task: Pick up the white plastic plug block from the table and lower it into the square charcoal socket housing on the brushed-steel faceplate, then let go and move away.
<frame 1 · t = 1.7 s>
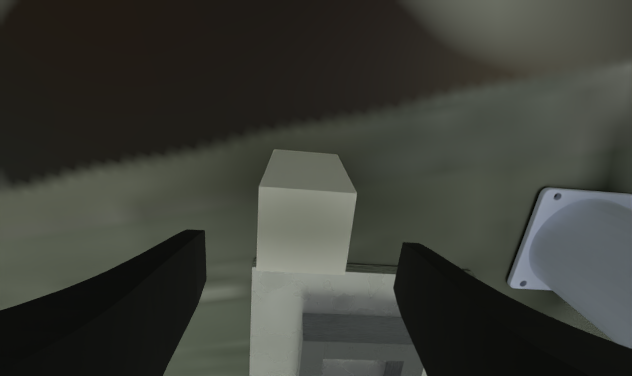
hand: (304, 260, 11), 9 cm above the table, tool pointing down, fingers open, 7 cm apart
socket: (350, 347, 24), on the table
plug: (303, 181, 19), on the table
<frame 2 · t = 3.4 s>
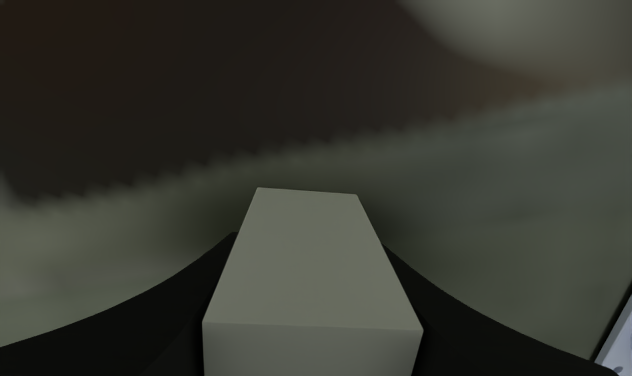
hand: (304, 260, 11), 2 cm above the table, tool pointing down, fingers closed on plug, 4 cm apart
plug: (303, 234, 13), on the table, touching gripper
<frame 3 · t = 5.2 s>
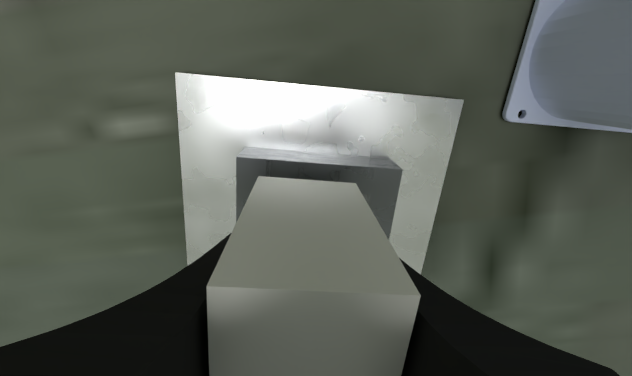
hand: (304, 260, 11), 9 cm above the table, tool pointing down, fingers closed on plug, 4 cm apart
socket: (311, 211, 20), on the table
plug: (303, 223, 13), point 7 cm above the table, touching gripper
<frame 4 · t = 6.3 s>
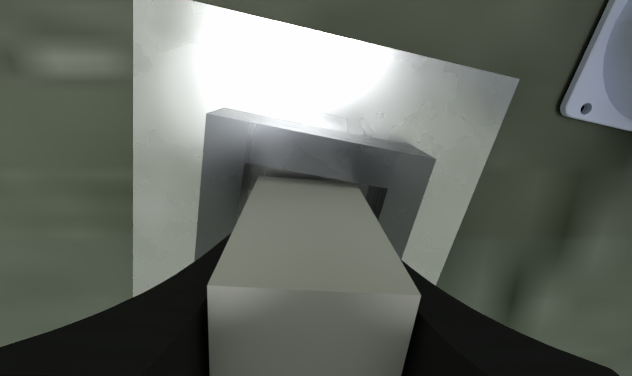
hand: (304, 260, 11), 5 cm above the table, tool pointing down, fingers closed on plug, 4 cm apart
socket: (303, 205, 15), on the table
plug: (304, 223, 13), point 3 cm above the table, touching gripper
when the fingers open (4 cm above the table, at t = 7.3 s): plug drops 1 cm, resting on socket.
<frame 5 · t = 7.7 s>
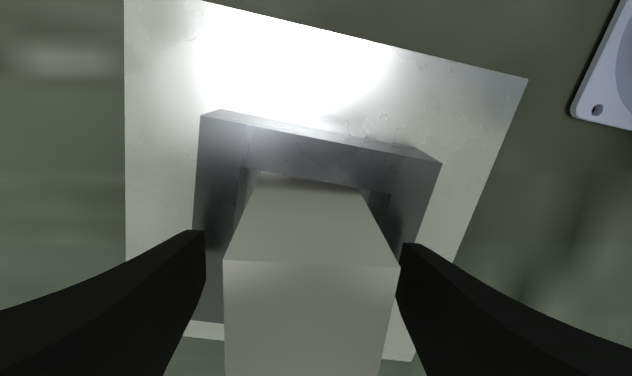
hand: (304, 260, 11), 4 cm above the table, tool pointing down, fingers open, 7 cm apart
socket: (303, 210, 15), on the table
plug: (304, 213, 14), point 1 cm above the table, touching socket
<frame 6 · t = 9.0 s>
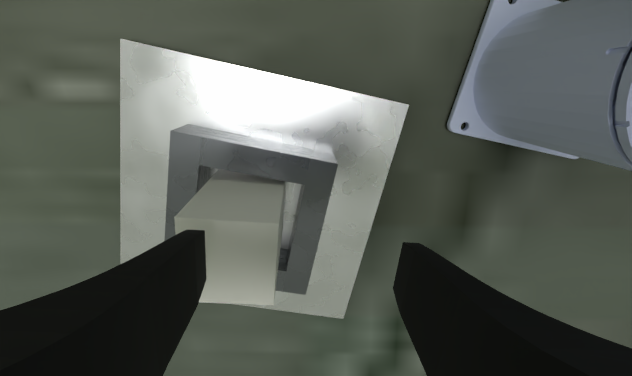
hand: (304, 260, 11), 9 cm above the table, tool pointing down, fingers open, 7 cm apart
socket: (254, 198, 20), on the table
plug: (252, 200, 19), point 1 cm above the table, touching socket
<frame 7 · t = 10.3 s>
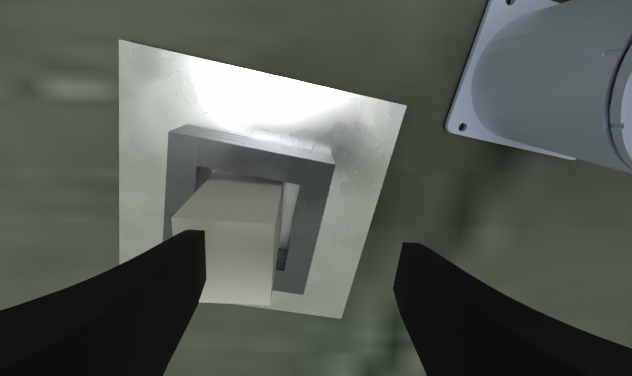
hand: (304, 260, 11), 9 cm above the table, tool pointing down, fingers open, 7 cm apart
socket: (253, 199, 20), on the table
plug: (250, 200, 19), point 1 cm above the table, touching socket
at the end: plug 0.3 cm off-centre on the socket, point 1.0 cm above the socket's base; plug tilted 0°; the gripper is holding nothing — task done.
